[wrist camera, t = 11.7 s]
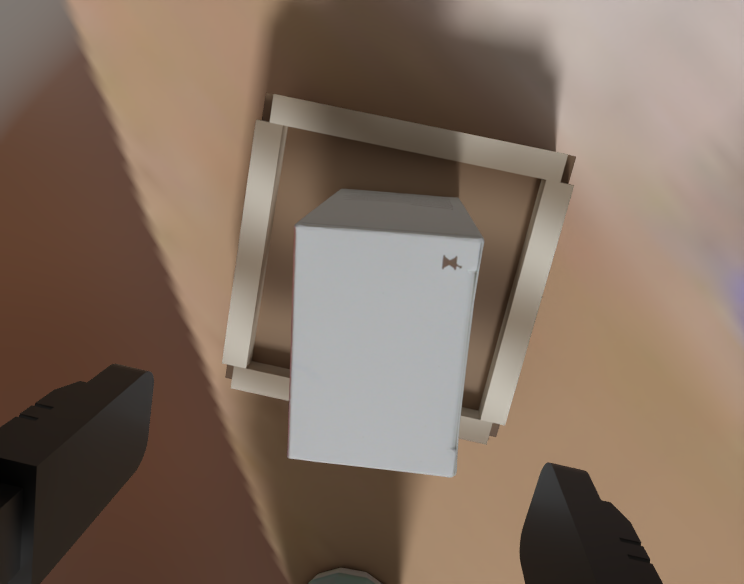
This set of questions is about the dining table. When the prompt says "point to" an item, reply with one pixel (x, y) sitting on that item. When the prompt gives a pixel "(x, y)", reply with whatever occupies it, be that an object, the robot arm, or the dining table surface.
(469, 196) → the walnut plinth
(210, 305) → the dining table surface
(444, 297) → the small box
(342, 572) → the disposable coffee cup
